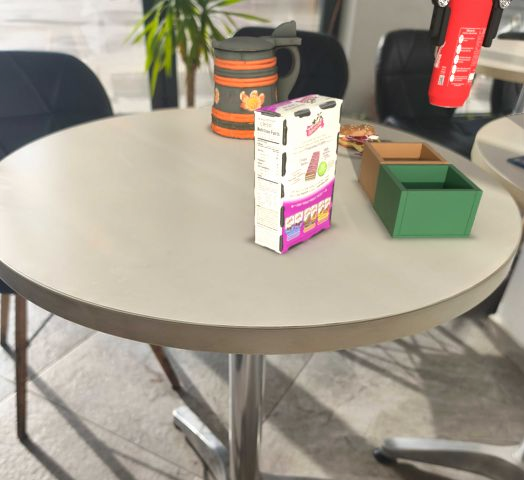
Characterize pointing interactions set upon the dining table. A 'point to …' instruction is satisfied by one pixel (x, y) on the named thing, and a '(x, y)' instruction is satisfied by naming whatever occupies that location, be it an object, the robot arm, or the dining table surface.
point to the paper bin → (392, 160)
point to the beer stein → (250, 78)
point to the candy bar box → (294, 169)
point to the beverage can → (459, 53)
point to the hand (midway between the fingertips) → (460, 43)
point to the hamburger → (357, 136)
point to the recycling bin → (426, 201)
